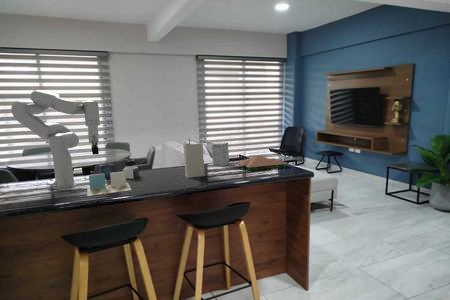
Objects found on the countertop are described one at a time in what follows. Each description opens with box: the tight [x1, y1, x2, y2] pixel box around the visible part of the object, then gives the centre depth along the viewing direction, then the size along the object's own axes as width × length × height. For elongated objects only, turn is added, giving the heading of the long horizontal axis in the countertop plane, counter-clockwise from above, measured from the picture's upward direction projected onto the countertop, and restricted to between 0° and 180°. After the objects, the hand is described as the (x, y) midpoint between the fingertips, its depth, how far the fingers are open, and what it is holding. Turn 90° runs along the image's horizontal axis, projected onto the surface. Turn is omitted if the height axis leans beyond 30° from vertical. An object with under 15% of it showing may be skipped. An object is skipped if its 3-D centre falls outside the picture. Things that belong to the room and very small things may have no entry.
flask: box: [98, 161, 115, 180], centre depth 197 cm, size 9×3×11 cm, turn 110°
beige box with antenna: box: [183, 138, 206, 179], centre depth 195 cm, size 8×12×26 cm
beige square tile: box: [109, 170, 127, 187], centre depth 172 cm, size 8×2×8 cm, turn 114°
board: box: [86, 182, 132, 197], centre depth 167 cm, size 22×18×1 cm
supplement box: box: [211, 141, 230, 167], centre depth 228 cm, size 10×9×17 cm
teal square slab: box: [88, 173, 107, 190], centre depth 168 cm, size 8×2×8 cm, turn 114°
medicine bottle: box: [122, 159, 140, 180], centre depth 193 cm, size 7×7×12 cm
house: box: [237, 155, 289, 172], centre depth 217 cm, size 23×33×8 cm
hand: (95, 153), depth 171 cm, fingers open, 9 cm apart
